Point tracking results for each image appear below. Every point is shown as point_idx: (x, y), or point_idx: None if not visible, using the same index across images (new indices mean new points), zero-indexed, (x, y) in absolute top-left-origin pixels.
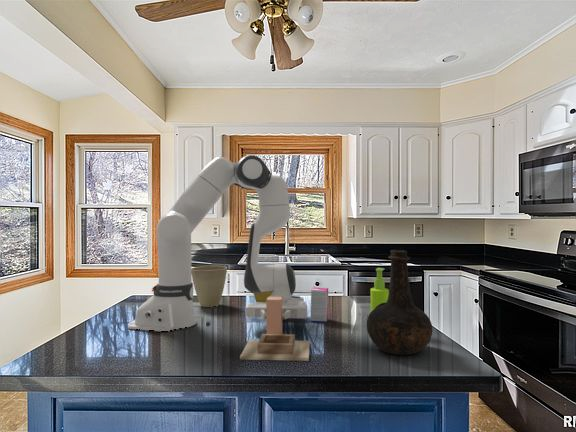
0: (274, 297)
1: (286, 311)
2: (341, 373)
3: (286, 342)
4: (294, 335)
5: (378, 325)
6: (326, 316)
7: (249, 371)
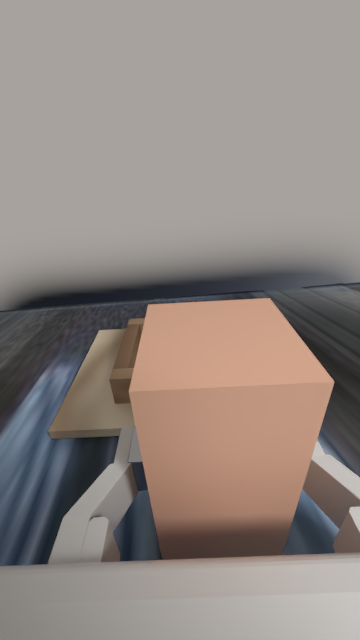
0: (227, 355)
1: (110, 485)
2: (59, 311)
3: None
4: (111, 374)
5: None
6: None
7: None
